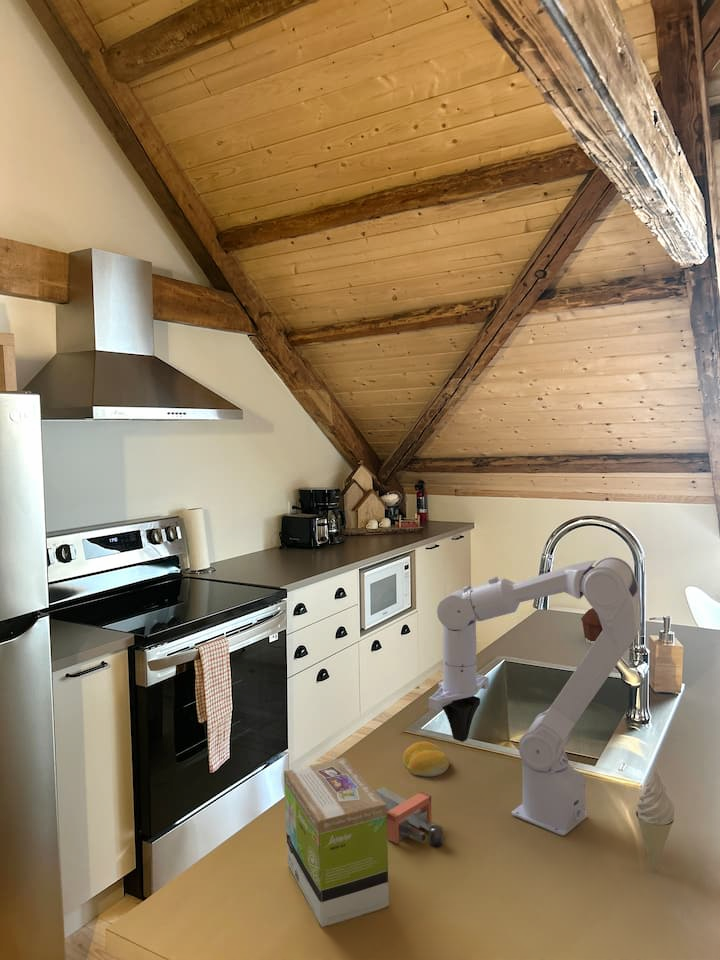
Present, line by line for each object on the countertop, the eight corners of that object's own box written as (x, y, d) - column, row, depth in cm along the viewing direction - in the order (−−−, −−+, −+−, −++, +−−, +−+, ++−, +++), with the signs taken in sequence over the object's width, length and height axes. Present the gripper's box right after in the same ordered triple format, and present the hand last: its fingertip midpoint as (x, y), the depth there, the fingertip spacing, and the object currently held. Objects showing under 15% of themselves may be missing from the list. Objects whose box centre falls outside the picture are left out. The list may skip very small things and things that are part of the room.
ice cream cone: (670, 886, 99) (671, 780, 98) (631, 874, 102) (632, 771, 101) (676, 867, 104) (677, 765, 103) (638, 856, 106) (639, 757, 105)
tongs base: (445, 843, 110) (445, 828, 110) (429, 854, 108) (429, 839, 108) (369, 806, 122) (368, 792, 121) (352, 815, 119) (352, 801, 119)
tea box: (284, 866, 106) (282, 768, 105) (348, 849, 110) (346, 754, 109) (320, 931, 92) (317, 818, 91) (391, 909, 96) (389, 801, 95)
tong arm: (441, 833, 113) (441, 819, 113) (433, 837, 112) (433, 823, 112) (383, 799, 124) (383, 786, 123) (375, 802, 122) (375, 790, 122)
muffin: (577, 636, 218) (577, 603, 217) (615, 636, 216) (616, 603, 216) (585, 647, 206) (586, 613, 205) (626, 648, 205) (626, 613, 204)
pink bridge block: (431, 820, 117) (431, 795, 116) (396, 843, 110) (395, 817, 110) (421, 816, 118) (421, 791, 118) (386, 838, 112) (386, 812, 111)
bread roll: (414, 781, 130) (414, 760, 130) (398, 760, 139) (398, 739, 139) (457, 774, 133) (456, 753, 132) (438, 754, 141) (438, 734, 141)
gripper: (465, 647, 131) (466, 720, 132) (414, 667, 121) (415, 746, 122) (498, 655, 126) (498, 730, 127) (448, 676, 116) (448, 758, 117)
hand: (460, 739), depth 124 cm, fingers closed
